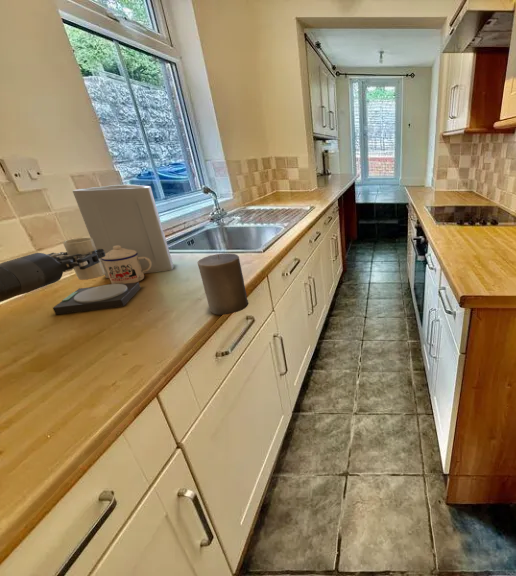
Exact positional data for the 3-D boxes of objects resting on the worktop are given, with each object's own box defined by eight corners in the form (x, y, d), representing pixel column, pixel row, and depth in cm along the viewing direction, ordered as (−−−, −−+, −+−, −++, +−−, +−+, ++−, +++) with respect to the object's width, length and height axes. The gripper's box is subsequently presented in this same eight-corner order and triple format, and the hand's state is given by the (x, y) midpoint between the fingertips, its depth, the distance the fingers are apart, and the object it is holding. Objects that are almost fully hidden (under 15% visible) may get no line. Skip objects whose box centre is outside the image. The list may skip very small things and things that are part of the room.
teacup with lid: (107, 288, 98) (93, 251, 93) (115, 278, 106) (102, 244, 101) (153, 281, 103) (142, 246, 98) (157, 272, 110) (147, 239, 105)
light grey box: (177, 257, 125) (156, 183, 114) (172, 269, 113) (148, 187, 101) (117, 264, 118) (88, 186, 106) (105, 278, 105) (71, 191, 94)
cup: (73, 280, 84) (57, 244, 80) (84, 273, 89) (70, 238, 85) (99, 278, 85) (85, 242, 81) (109, 271, 90) (96, 236, 86)
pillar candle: (256, 302, 89) (246, 250, 83) (229, 318, 80) (216, 262, 74) (229, 296, 92) (218, 246, 86) (200, 311, 84) (186, 257, 78)
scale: (55, 314, 82) (51, 306, 81) (81, 294, 94) (78, 286, 93) (123, 306, 87) (120, 298, 86) (140, 288, 98) (138, 280, 97)
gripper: (50, 258, 70) (112, 238, 85) (-13, 258, 70) (61, 238, 86) (64, 289, 73) (122, 265, 88) (4, 289, 73) (72, 265, 89)
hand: (91, 252), depth 87 cm, fingers closed on cup, 6 cm apart
